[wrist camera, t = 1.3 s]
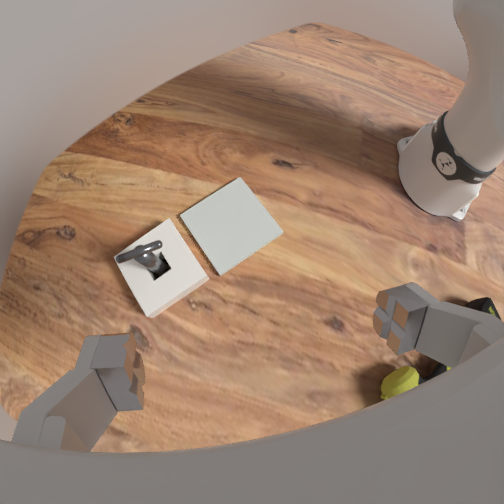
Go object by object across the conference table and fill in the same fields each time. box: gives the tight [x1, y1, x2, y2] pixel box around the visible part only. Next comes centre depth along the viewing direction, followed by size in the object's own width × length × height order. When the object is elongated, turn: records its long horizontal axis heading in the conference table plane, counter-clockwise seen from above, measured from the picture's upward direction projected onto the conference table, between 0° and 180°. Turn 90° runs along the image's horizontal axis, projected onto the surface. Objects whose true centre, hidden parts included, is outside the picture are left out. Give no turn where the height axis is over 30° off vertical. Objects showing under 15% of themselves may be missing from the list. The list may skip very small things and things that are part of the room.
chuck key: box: [116, 240, 170, 277], centre depth 38 cm, size 6×2×11 cm, turn 110°
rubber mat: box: [180, 177, 283, 276], centre depth 44 cm, size 11×11×1 cm
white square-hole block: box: [114, 218, 209, 318], centre depth 41 cm, size 10×10×3 cm
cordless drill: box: [380, 297, 501, 400], centre depth 34 cm, size 7×25×25 cm
